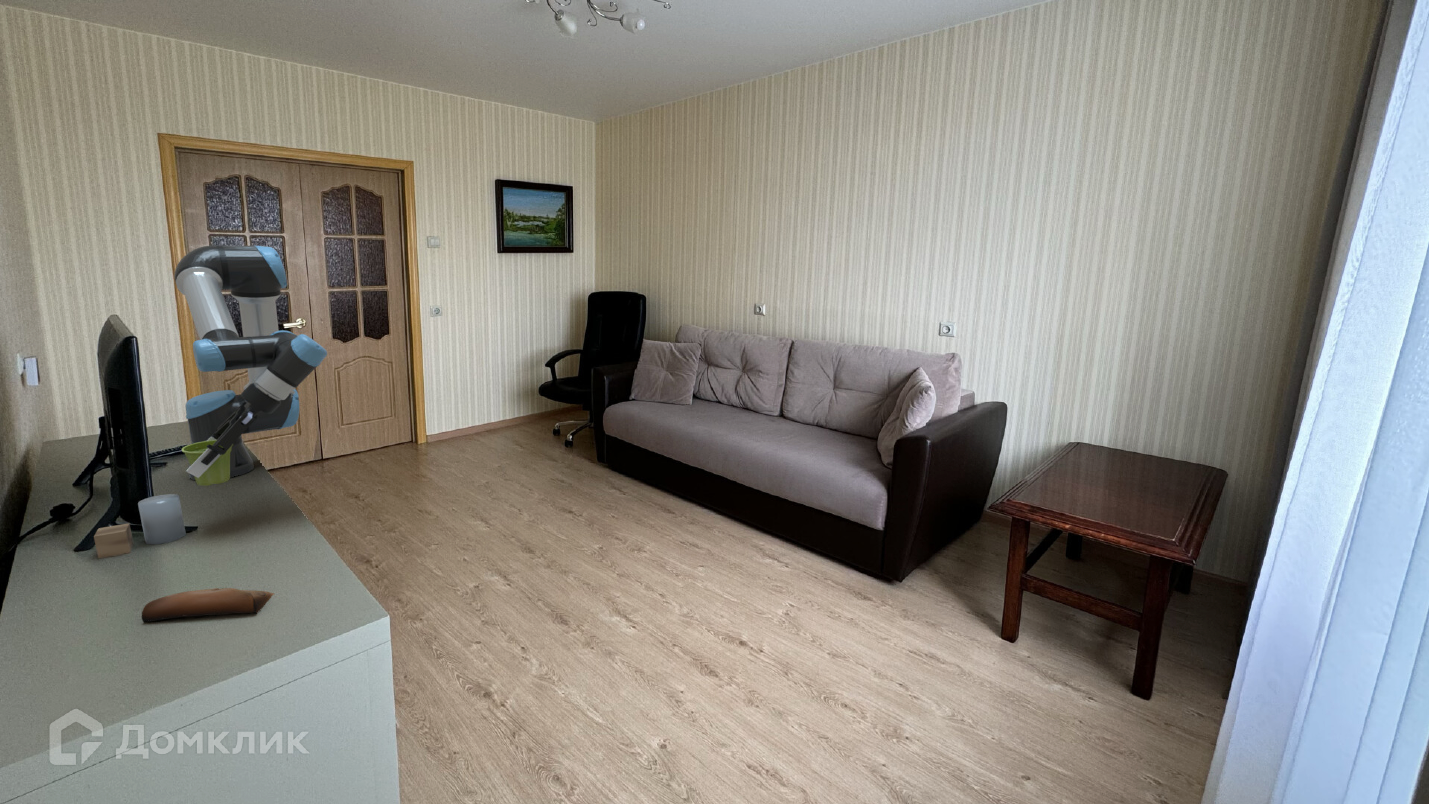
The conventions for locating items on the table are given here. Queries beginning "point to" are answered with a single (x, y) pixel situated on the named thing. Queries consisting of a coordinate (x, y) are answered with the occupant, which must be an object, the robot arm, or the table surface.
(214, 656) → the table surface
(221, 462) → the plant pot
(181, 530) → the slate jar
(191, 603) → the sunglasses case
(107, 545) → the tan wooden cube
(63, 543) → the table surface
